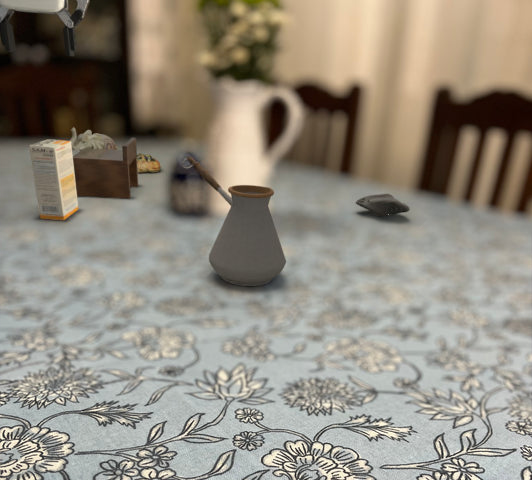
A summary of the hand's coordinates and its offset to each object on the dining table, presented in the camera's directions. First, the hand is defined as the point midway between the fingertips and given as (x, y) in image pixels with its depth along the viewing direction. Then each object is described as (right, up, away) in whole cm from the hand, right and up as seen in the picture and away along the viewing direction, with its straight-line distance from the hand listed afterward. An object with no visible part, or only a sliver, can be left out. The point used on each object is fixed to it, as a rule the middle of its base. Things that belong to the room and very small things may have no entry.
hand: (40, 53), depth 87 cm
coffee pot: (+32, -37, -6) cm, 49 cm away
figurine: (-5, -6, +45) cm, 46 cm away
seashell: (+65, -19, +31) cm, 74 cm away
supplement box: (-2, -24, +13) cm, 27 cm away
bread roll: (+3, +1, +59) cm, 59 cm away
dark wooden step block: (+1, -12, +34) cm, 36 cm away
